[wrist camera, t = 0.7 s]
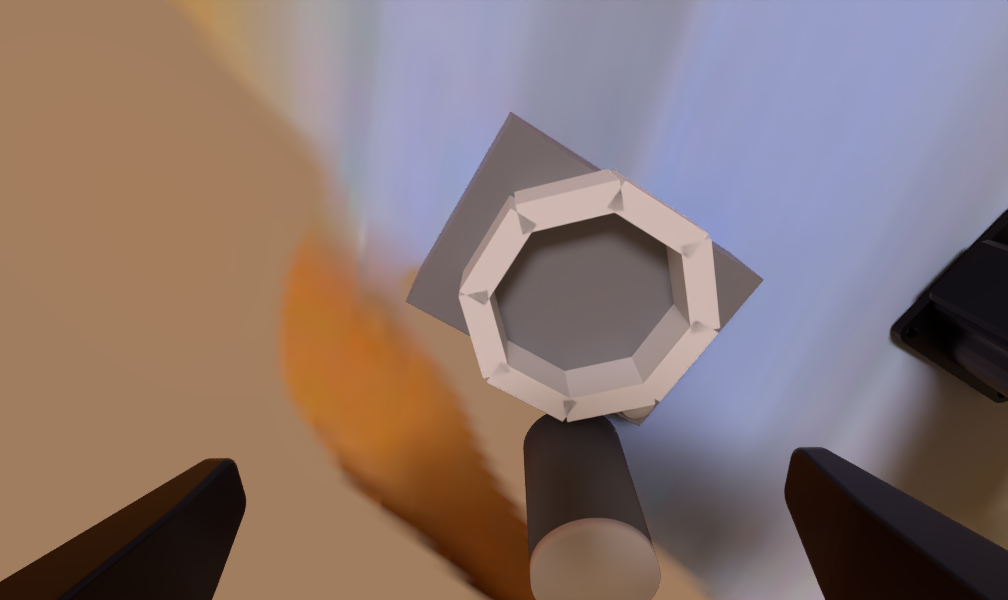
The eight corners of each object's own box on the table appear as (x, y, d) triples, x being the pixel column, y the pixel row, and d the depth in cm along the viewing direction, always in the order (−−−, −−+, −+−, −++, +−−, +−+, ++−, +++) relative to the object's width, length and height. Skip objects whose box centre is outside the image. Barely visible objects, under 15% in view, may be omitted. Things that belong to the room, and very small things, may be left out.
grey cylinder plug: (638, 434, 24) (687, 564, 18) (583, 498, 26) (610, 640, 19) (557, 391, 23) (578, 512, 17) (505, 460, 25) (506, 596, 18)
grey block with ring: (735, 244, 21) (797, 291, 16) (618, 390, 23) (645, 464, 19) (515, 102, 19) (519, 112, 14) (414, 278, 21) (390, 332, 17)
